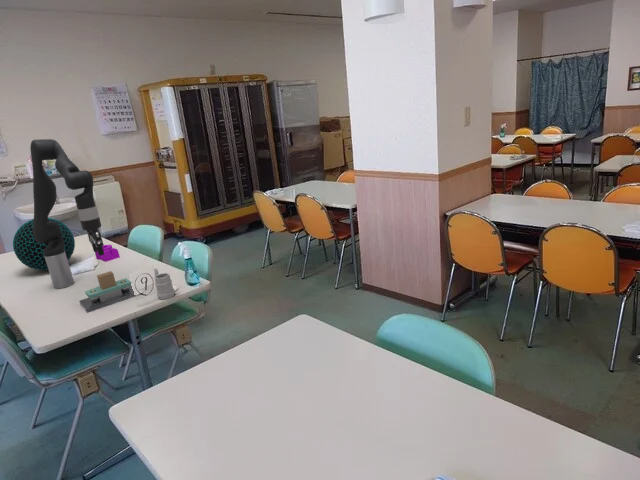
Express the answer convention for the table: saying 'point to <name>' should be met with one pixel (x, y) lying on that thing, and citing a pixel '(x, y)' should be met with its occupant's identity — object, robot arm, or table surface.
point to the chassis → (107, 299)
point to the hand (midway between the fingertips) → (99, 253)
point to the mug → (163, 285)
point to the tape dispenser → (108, 253)
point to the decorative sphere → (38, 245)
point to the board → (100, 292)
